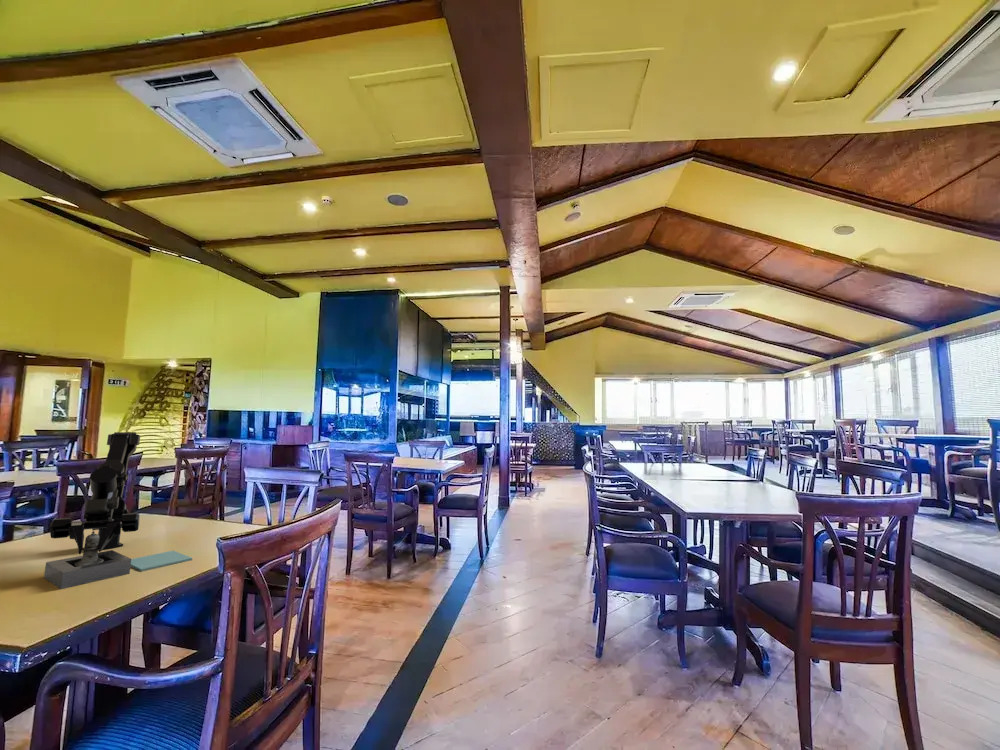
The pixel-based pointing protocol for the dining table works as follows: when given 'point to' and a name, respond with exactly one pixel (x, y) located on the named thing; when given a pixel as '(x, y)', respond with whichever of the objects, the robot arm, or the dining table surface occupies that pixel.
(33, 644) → the dining table surface
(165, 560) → the teal mat
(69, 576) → the square socket
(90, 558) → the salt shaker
